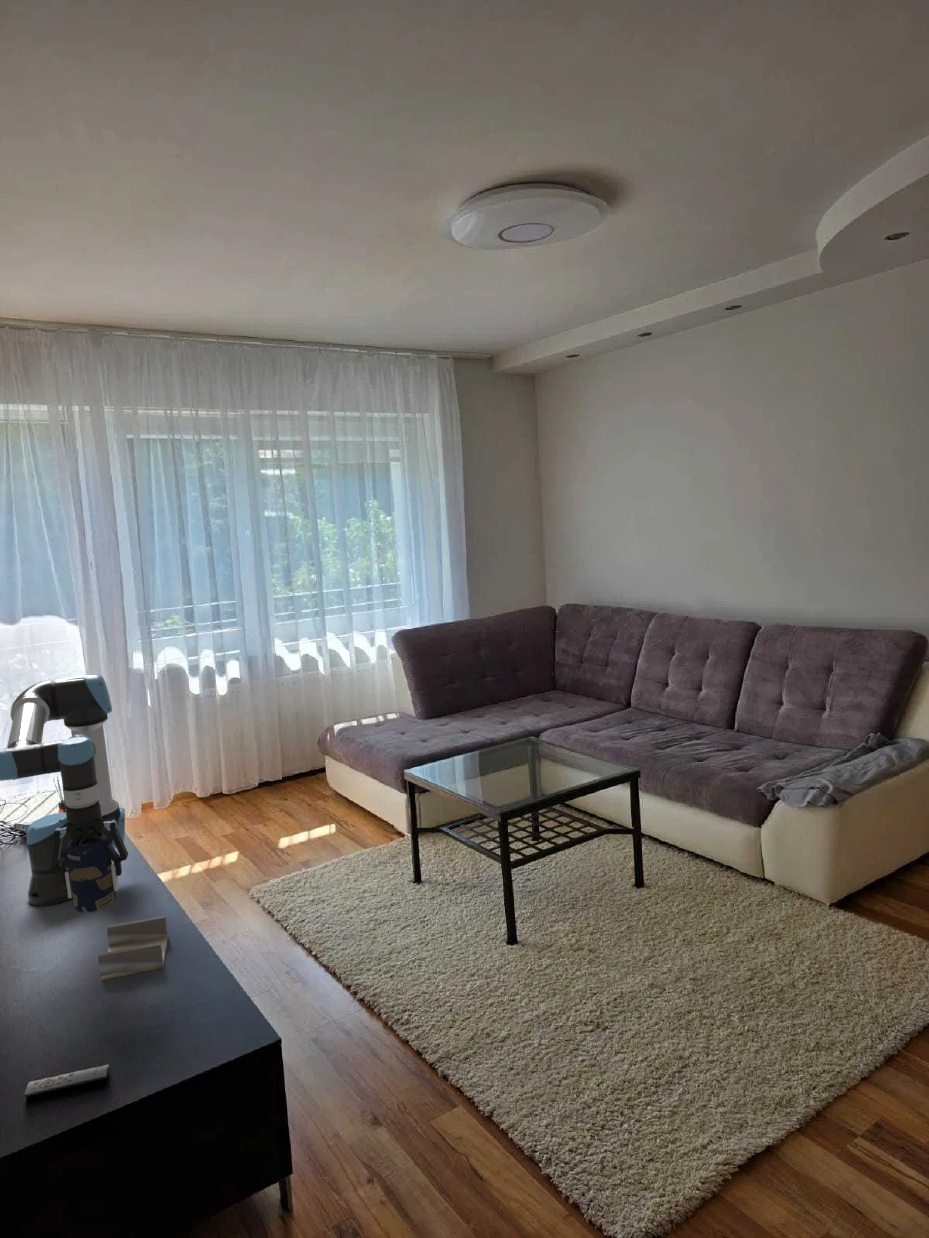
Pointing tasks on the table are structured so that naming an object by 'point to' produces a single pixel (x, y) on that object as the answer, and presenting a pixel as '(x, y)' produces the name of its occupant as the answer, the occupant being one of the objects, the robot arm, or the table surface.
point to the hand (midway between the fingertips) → (94, 891)
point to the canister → (90, 875)
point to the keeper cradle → (134, 947)
